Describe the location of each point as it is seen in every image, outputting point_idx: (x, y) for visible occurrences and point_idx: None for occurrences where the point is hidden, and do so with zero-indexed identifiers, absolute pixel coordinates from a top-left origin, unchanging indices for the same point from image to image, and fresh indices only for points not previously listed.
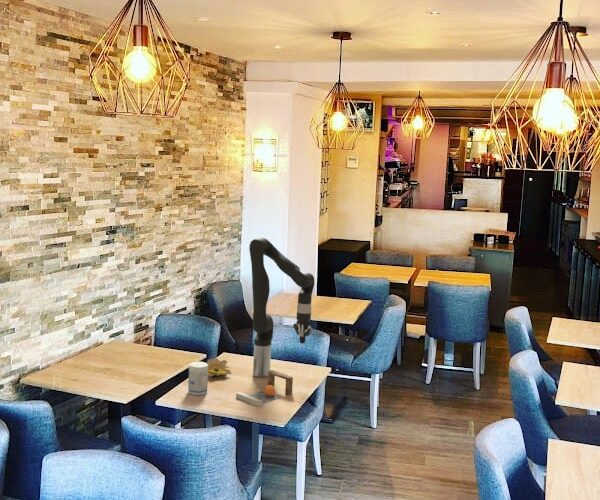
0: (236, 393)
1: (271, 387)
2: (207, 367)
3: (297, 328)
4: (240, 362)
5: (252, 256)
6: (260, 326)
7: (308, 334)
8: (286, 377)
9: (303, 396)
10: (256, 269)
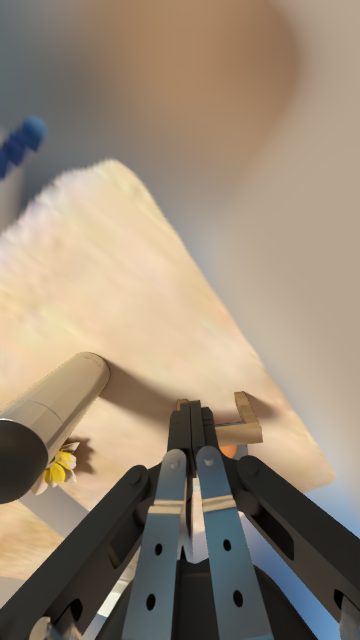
0: (193, 490)
1: (234, 454)
2: None
3: (102, 584)
4: None
5: None
6: None
7: (273, 483)
8: (252, 443)
9: (271, 378)
10: None
